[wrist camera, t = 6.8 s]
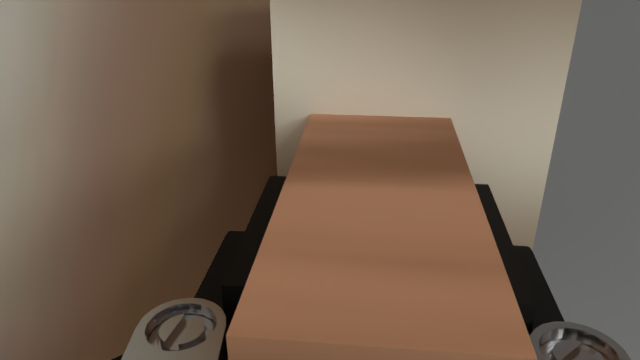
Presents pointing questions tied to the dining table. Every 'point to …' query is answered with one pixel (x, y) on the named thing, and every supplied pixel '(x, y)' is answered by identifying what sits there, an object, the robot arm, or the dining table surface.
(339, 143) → the stub
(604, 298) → the holder
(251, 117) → the dining table surface
